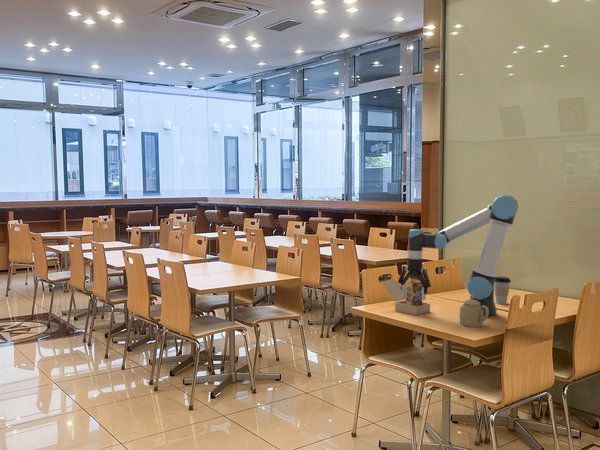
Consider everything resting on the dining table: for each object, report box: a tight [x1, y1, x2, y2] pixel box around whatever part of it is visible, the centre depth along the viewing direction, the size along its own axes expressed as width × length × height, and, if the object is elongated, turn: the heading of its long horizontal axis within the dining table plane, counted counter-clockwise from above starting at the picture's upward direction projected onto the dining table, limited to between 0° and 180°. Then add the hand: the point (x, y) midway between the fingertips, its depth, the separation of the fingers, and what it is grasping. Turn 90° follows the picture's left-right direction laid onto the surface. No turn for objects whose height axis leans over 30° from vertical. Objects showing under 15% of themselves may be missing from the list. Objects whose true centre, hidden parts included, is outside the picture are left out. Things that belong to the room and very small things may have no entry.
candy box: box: [405, 281, 423, 306], centre depth 304 cm, size 9×4×15 cm, turn 127°
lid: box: [380, 278, 406, 303], centre depth 313 cm, size 14×13×1 cm
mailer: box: [394, 299, 431, 316], centre depth 305 cm, size 14×13×4 cm
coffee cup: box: [494, 276, 511, 305], centre depth 333 cm, size 9×9×15 cm
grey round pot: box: [459, 294, 489, 328], centre depth 276 cm, size 15×11×15 cm
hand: (413, 298), depth 304 cm, fingers open, 12 cm apart
